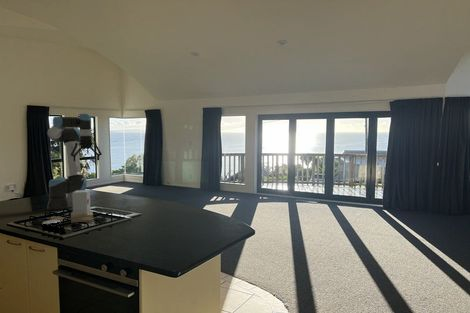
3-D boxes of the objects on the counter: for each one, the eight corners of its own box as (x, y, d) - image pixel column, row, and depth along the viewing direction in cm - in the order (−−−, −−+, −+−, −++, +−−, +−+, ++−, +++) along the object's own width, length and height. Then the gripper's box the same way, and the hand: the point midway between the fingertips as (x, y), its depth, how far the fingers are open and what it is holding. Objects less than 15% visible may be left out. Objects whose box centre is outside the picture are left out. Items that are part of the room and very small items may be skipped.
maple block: (71, 220, 226) (71, 212, 226) (92, 217, 232) (92, 210, 232) (71, 224, 215) (70, 216, 214) (93, 222, 220) (93, 214, 220)
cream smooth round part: (44, 222, 219) (44, 220, 219) (61, 221, 222) (61, 219, 222) (41, 226, 210) (40, 224, 210) (58, 224, 213) (58, 222, 213)
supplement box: (87, 214, 220) (86, 192, 219) (72, 215, 218) (71, 192, 217) (90, 211, 228) (90, 189, 228) (76, 212, 227) (76, 190, 226)
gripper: (65, 135, 232) (66, 166, 233) (104, 135, 240) (105, 165, 241) (67, 135, 239) (68, 165, 241) (104, 135, 247) (105, 164, 248)
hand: (86, 165), depth 241 cm, fingers open, 13 cm apart
